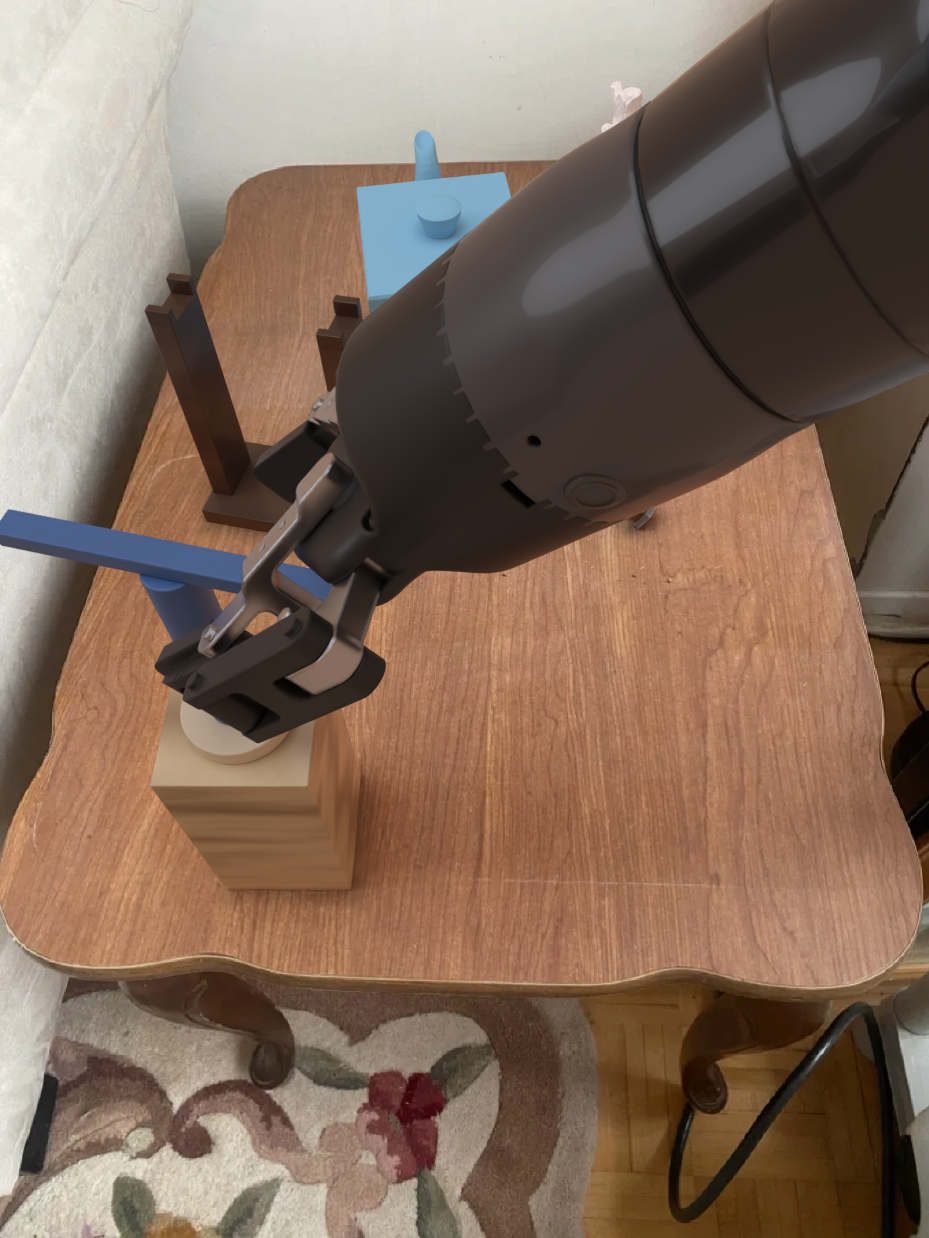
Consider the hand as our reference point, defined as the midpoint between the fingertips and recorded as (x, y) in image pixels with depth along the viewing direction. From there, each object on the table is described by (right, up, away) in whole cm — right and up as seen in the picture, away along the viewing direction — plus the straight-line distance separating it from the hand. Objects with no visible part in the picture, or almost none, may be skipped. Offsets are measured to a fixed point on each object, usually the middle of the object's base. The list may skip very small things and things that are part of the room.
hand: (231, 573), depth 33 cm
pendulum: (-2, -6, +10) cm, 12 cm away
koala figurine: (+22, +33, +52) cm, 65 cm away
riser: (-2, -14, +22) cm, 26 cm away
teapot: (+7, +20, +45) cm, 49 cm away
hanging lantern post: (+18, +6, +34) cm, 39 cm away
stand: (-4, +7, +36) cm, 37 cm away
